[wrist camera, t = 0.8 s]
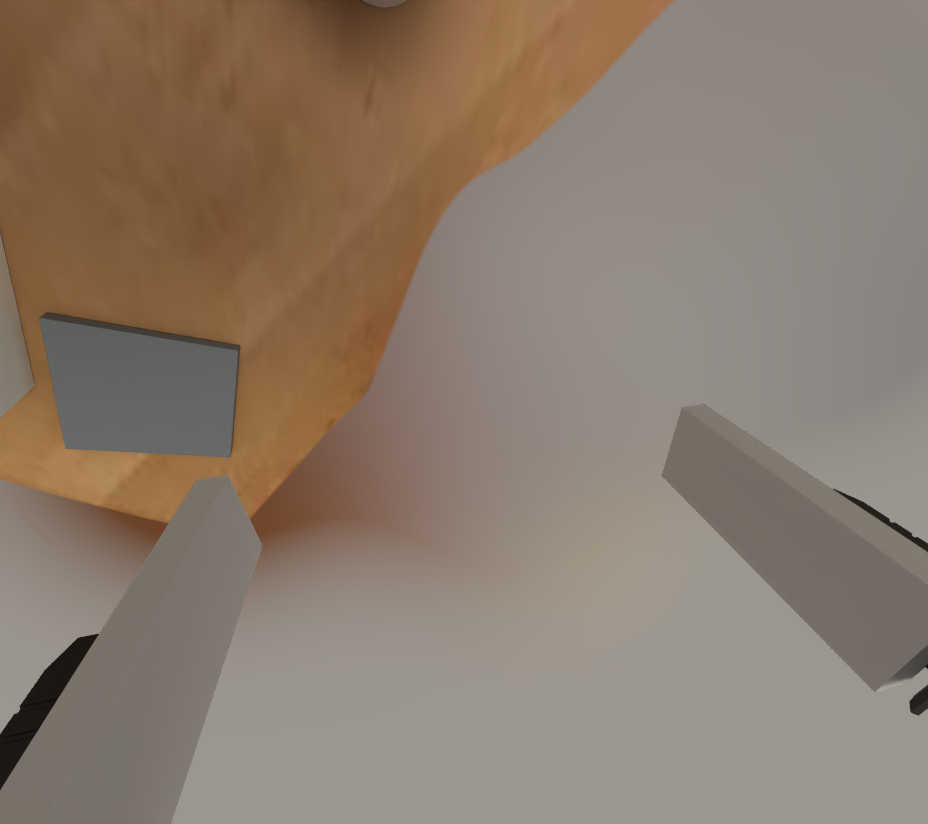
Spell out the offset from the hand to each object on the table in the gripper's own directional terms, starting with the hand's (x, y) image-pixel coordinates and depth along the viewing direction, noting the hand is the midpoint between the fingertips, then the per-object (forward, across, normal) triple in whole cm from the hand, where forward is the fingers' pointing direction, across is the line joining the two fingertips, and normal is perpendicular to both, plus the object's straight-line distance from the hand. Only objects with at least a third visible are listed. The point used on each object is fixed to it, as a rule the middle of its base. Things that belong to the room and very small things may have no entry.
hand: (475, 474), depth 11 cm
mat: (+25, -23, -7) cm, 35 cm away
